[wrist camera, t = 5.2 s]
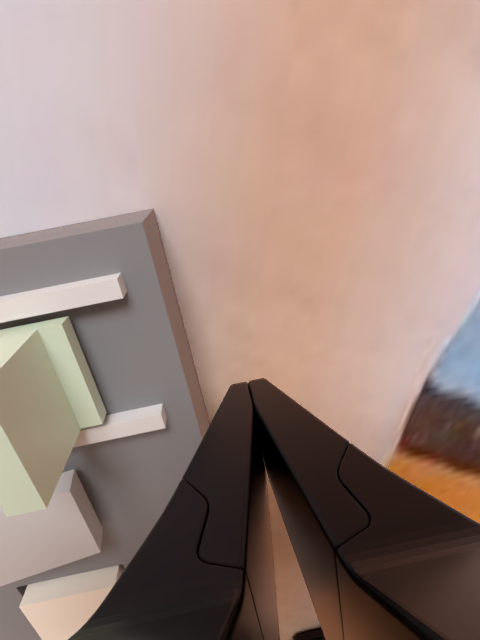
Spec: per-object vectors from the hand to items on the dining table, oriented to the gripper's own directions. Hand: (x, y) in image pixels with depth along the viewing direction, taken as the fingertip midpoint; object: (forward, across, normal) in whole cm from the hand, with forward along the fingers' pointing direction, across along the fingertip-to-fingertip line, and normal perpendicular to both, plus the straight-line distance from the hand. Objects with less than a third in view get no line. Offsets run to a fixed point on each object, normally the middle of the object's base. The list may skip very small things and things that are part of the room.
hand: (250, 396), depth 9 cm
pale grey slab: (+3, +9, +5) cm, 11 cm away
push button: (+5, +9, +12) cm, 16 cm away
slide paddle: (+3, +6, 0) cm, 7 cm away
